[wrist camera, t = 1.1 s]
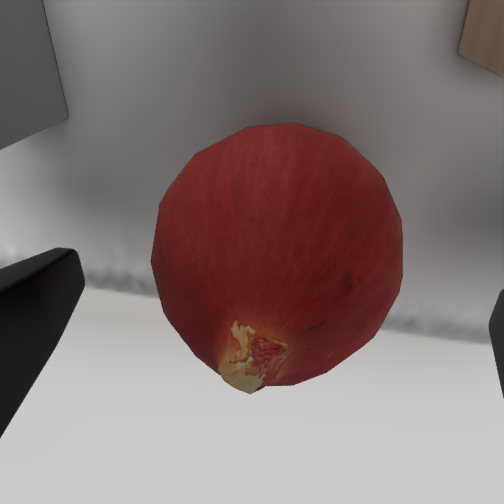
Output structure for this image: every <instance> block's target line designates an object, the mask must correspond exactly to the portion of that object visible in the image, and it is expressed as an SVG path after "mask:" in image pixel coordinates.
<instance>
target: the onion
mask: <svg viewBox="0 0 504 504" xmlns="http://www.w3.org/2000/svg"><path fill="white" fill-rule="evenodd" d="M151 265H152V270H153V274H154V278H155V282H156V286H157V289H158V293H159V297H160V301H161V304H162V308H163V312H164V314H165V315H166V317H167V319H168V320H169V322H170V323H171V325H172V326H173V327H174V328H175V330H176V331H177V332H178V333H179V335H180V336H181V338H182V339H183V340H184V342H186V344H187V345H188V346H189V348H190V349H191V351H192V352H193V353H194V355H195V356H196V357H197V358H199V359H200V360H201V361H203V362H204V363H205V364H206V365H207V366H209V367H210V368H211V369H213V370H214V371H215V372H216V373H218V374H219V375H221V377H222V378H223V380H224V381H225V382H227V383H228V384H229V385H231V386H232V387H234V388H236V389H238V390H240V391H243V392H246V393H248V394H252V393H254V392H256V391H258V390H260V389H262V388H264V387H265V386H288V385H289V386H290V385H295V384H298V383H301V382H303V381H306V380H308V379H311V378H314V377H316V376H319V375H322V374H324V373H327V372H328V371H329V370H331V369H332V368H334V367H335V366H336V365H338V364H339V363H341V362H342V361H343V360H345V359H346V358H347V357H349V356H350V355H352V354H353V353H354V352H356V351H357V350H359V349H360V348H362V347H363V346H364V345H365V344H366V343H368V342H369V341H370V340H371V339H372V338H374V336H375V335H376V333H377V332H378V330H379V328H380V327H381V325H382V323H383V322H384V320H385V318H386V316H387V314H388V312H389V310H390V309H391V307H392V305H393V303H394V301H395V299H396V297H397V296H398V294H399V291H400V286H401V281H402V277H403V234H402V223H401V217H400V215H399V213H398V210H397V208H396V205H395V203H394V201H393V198H392V196H391V194H390V191H389V189H388V187H387V184H386V182H385V179H384V177H383V176H382V175H381V174H380V173H379V171H378V170H377V169H376V168H375V167H374V166H373V165H372V164H371V163H370V162H369V161H368V160H366V159H365V158H364V157H363V156H362V155H361V154H360V153H359V152H358V151H357V150H355V149H354V148H353V147H352V146H351V145H350V144H349V143H348V142H347V141H346V140H344V139H343V138H342V137H340V136H337V135H334V134H330V133H327V132H324V131H321V130H317V129H314V128H311V127H307V126H304V125H301V124H298V123H287V124H275V125H263V126H251V127H247V128H245V129H243V130H241V131H239V132H237V133H235V134H233V135H231V136H229V137H227V138H225V139H223V140H221V141H219V142H217V143H216V144H214V145H212V146H210V147H208V148H206V149H204V150H202V151H200V152H198V153H196V154H195V155H194V156H193V157H192V159H191V160H190V161H189V163H188V164H187V165H186V166H185V168H184V169H183V170H182V172H181V173H180V174H179V175H178V177H177V178H176V179H175V181H174V182H173V183H172V184H171V186H170V187H169V189H168V190H167V192H166V194H165V195H164V197H163V199H162V201H161V202H160V205H159V211H158V217H157V224H156V230H155V237H154V243H153V249H152V256H151Z"/></svg>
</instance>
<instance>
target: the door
mask: <svg viewBox="0 0 504 504" xmlns="http://www.w3.org/2000/svg"><path fill="white" fill-rule="evenodd" d="M458 54H459V55H461V56H463V57H465V58H467V59H468V60H470V61H472V62H474V63H476V64H478V65H480V66H482V67H484V68H486V69H488V70H490V71H492V72H493V73H495V74H497V75H499V76H501V77H503V78H504V0H470V3H469V7H468V12H467V16H466V20H465V25H464V29H463V33H462V37H461V42H460V46H459V50H458Z"/></svg>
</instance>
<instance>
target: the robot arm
mask: <svg viewBox="0 0 504 504" xmlns="http://www.w3.org/2000/svg"><path fill="white" fill-rule="evenodd" d="M84 286H85V277H84V274H83V270H82V266H81V262H80V258H79V255H78V253H77V251H76V250H74V249H70V248H54V249H52V250H49V251H46V252H44V253H41V254H38V255H36V256H33V257H31V258H28V259H25V260H23V261H20V262H17V263H15V264H12V265H10V266H7V267H4V268H2V269H0V438H1V436H2V435H3V433H4V431H5V430H6V428H7V426H8V425H9V423H10V421H11V420H12V418H13V417H14V415H15V413H16V412H17V410H18V408H19V407H20V405H21V403H22V402H23V400H24V399H25V397H26V395H27V393H28V392H29V390H30V389H31V387H32V385H33V384H34V382H35V380H36V379H37V377H38V376H39V374H40V372H41V371H42V369H43V367H44V366H45V364H46V362H47V361H48V359H49V358H50V356H51V354H52V353H53V351H54V349H55V348H56V346H57V344H58V342H59V340H60V338H61V336H62V334H63V332H64V330H65V328H66V326H67V323H68V321H69V319H70V317H71V315H72V313H73V311H74V309H75V307H76V305H77V302H78V300H79V298H80V296H81V294H82V292H83V289H84ZM489 333H490V337H491V342H492V347H493V351H494V356H495V361H496V366H497V370H498V375H499V380H500V385H501V389H502V393H503V397H504V289H502V291H501V292H500V294H499V296H498V299H497V302H496V304H495V307H494V309H493V312H492V315H491V317H490V321H489Z"/></svg>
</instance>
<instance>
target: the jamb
mask: <svg viewBox="0 0 504 504" xmlns="http://www.w3.org/2000/svg"><path fill="white" fill-rule="evenodd" d="M67 117H68V113H67V108H66V104H65V100H64V95H63V91H62V86H61V82H60V78H59V73H58V69H57V65H56V60H55V56H54V51H53V47H52V43H51V38H50V34H49V30H48V25H47V21H46V16H45V12H44V8H43V3H42V0H0V150H1V149H3V148H5V147H7V146H9V145H11V144H13V143H16V142H18V141H20V140H22V139H24V138H26V137H28V136H30V135H32V134H34V133H36V132H38V131H40V130H42V129H44V128H47V127H49V126H51V125H53V124H55V123H57V122H59V121H61V120H63V119H65V118H67Z"/></svg>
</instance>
